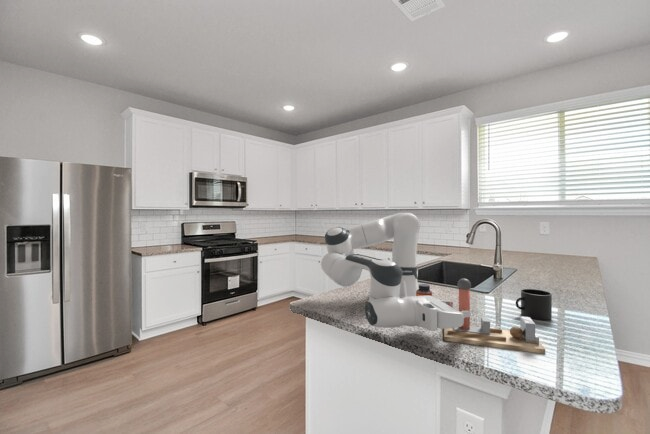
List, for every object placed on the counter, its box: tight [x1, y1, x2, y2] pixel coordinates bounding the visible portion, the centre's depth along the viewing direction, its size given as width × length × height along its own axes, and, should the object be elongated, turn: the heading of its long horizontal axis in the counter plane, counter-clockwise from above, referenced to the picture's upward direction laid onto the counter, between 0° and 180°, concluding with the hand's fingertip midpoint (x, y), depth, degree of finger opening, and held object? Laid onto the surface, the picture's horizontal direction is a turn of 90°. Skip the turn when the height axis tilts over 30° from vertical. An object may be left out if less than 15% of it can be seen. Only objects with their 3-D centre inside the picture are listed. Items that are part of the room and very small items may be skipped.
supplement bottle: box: [416, 283, 433, 297], centre depth 117 cm, size 6×6×11 cm
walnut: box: [509, 325, 523, 339], centre depth 92 cm, size 3×3×3 cm
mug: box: [515, 288, 553, 321], centre depth 114 cm, size 9×12×9 cm
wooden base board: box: [443, 325, 546, 355], centre depth 94 cm, size 26×12×2 cm, turn 69°
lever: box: [454, 277, 491, 335], centre depth 96 cm, size 10×5×17 cm, turn 69°
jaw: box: [520, 315, 540, 345], centre depth 91 cm, size 3×6×6 cm, turn 159°
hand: (459, 308), depth 96 cm, fingers open, 8 cm apart
